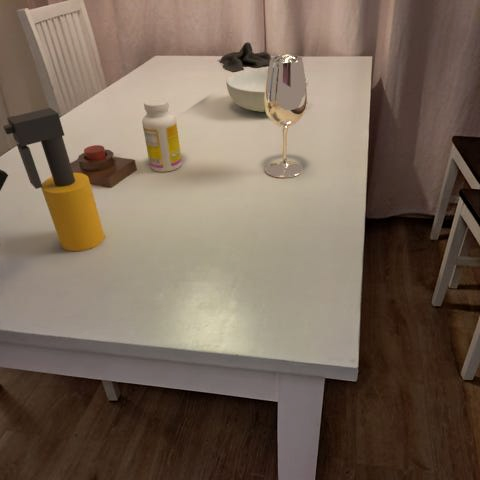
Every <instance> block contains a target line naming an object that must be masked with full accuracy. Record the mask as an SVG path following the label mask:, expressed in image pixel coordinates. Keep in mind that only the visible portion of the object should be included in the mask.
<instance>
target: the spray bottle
mask: <svg viewBox="0 0 480 480" xmlns="http://www.w3.org/2000/svg"><path fill="white" fill-rule="evenodd" d="M6 119H7V122H8V124H5V125H3V126H2V127H3V131H4V133H5V134H6V135H10V134H12V137H13V139H14V141H15V142H16V143H17V144H20V145H21V146H25V145H27V146H29V145H33V144H37V143H40V144H41V147H42V149H43V152H44V155H45V159H46V162H47V165H48V167H49V171H50V174H51V176H50V177H49V178H48V177H47V179H45V180H44V181H43V182H41V183H42V186H43V187H41V191H42V194H43V197H44V200H45V203H46V205H47V209H48V211H49V214H50V217H51V220H52V222H53V225H54V229H55V232H56V234H57V237H58V240H59V243H60V246H61V247H62V249H64V250H66V251H69V252H83V251H87V250H91V249H94V248H95V247H97V246H99V245H100V244H101V243H102V242H103V241H104V240H105V233H104V229H103V225H102V222H101V218H100V215H99V211H98V208H97V207H98V206H97V204H96V200H95V196H94V192H93V189H92V185H91V184H90V181H89V178H88V176H87V175H85V174H82V173H73V171H72V168H71V164H70V163H71V161H70V158H69V154H68V150H67V148H66V144H65V141H64V137H63V136H65V132H64V129H63V125H62V121H61V118H60V115H59V112H57V111H55V110H54V109H53V108H51V107H49V108H44V109H43V108H42V109H39V110H35V111H34V110H33V111H31V112H26V113H22V114H18V115H12V116H9V117H6Z"/></svg>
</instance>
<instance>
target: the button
mask: <svg viewBox="0 0 480 480" xmlns="http://www.w3.org/2000/svg"><path fill="white" fill-rule="evenodd" d="M83 153H84V154H85V157H86V160H99V159H103V158H104V157H106V153H105V146H103V145H100V144H94V145H89V146H87V147H85V148H83Z"/></svg>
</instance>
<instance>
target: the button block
mask: <svg viewBox="0 0 480 480" xmlns="http://www.w3.org/2000/svg"><path fill="white" fill-rule="evenodd" d="M104 149H105V148H104ZM105 153H106V157H104V158H103V159H99V160H86V157H85V154H84V152H83V153H81V154H79V155H78V157H77V159H75V160H73V161H71V162H70V164H71V168H72V171H73V173H82V174H85V175H87V176H88V178H89V181H90V185H91V186H97V187H103V188H107V189H112V188H113V187H115V186H116V185H118V184H119V183H120V182H122V181H123V180H125V179H126V178H128V177H129V176H130V175H132V174H133V173H135V172H136V171H137V170H138V169H137V168H138V167H137V163H136V159H132V158H125V157H118V156H115V154H114V152H113V151H112V150H110V149H105Z"/></svg>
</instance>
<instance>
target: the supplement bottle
mask: <svg viewBox="0 0 480 480" xmlns="http://www.w3.org/2000/svg"><path fill="white" fill-rule="evenodd" d="M143 108H144V111H145V112H146V114H145V115H144V116H143V118H142V121H141V125H142V129H143V136H144V140H145V146H146V151H147V156H148V161H149V166H150V168H151V170H153V171H155V172H160V173H165V172H172V171H175V170H177V169H179V168H180V167H181V166H182V163H183V161H182V153H181V152H182V151H181V145H180V137H179V132H178V126H177V125H178V124H177V119H176V116H175V115H174V114H173V113H172V112H170V111H169V108H170V103H169V100H168V99H167V98H164V97H157V98H155V97H153V98H149V99H146V100H144V101H143Z"/></svg>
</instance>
